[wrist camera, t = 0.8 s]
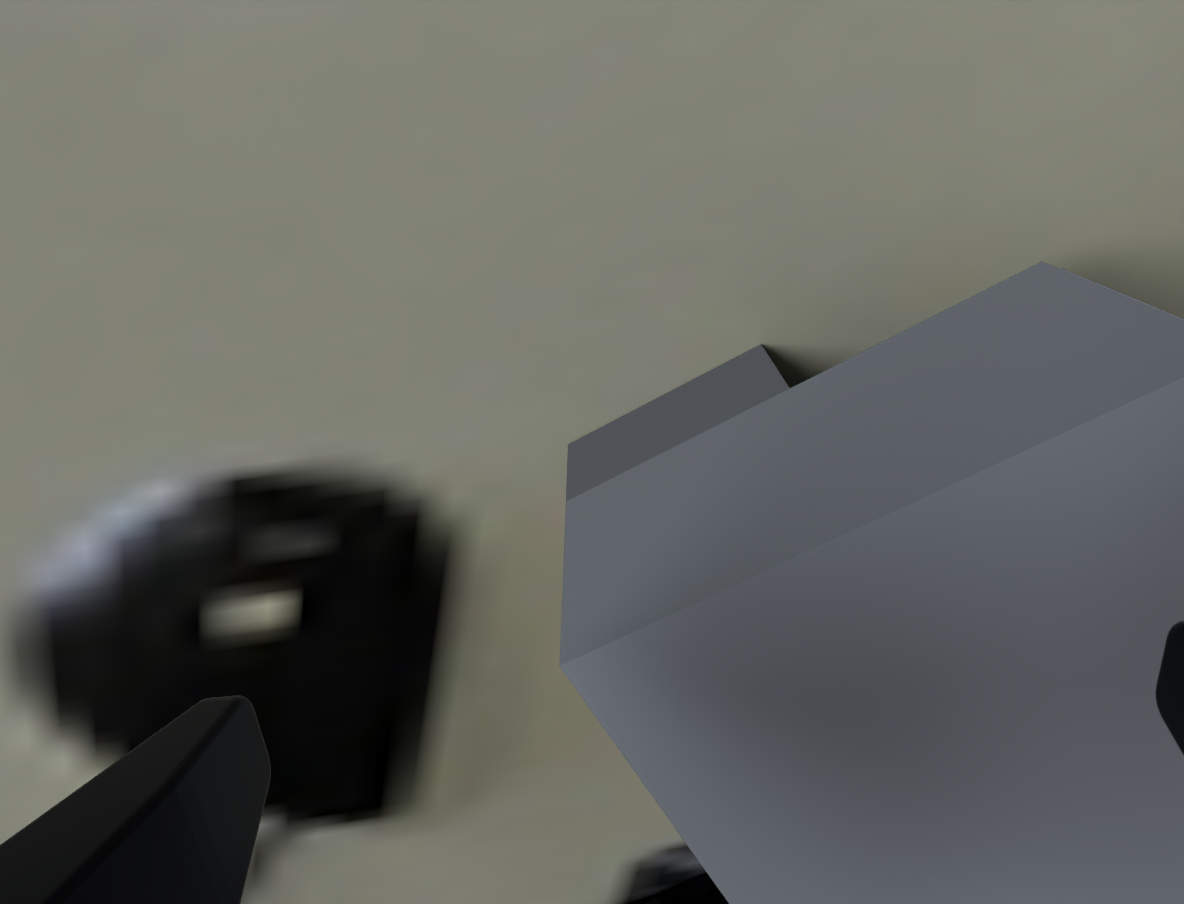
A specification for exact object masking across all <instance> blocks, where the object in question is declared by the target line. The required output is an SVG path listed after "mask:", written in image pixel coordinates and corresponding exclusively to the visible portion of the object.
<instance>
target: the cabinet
mask: <svg viewBox="0 0 1184 904" xmlns="http://www.w3.org/2000/svg"><path fill="white" fill-rule="evenodd" d="M1180 621H1184V319H1183V318H1181V317H1178V316H1176V315H1173V314H1171V313H1168V312H1166V311H1164V310H1161V309H1159V308H1156V307H1154V306H1152V305H1149V304H1147V303H1144V302H1142V301H1139V300H1137V299H1135V298H1132V297H1130V296H1127V295H1125V294H1123V293H1120V292H1118V291H1115V290H1113V289H1110V288H1108V287H1106V286H1103V285H1101V284H1098V283H1096V282H1094V281H1091V280H1089V279H1086V278H1084V277H1081V276H1079V275H1077V274H1074V273H1072V272H1069V271H1067V270H1065V269H1059V268H1056V267H1054V266H1051V265H1049V264H1047V263H1044V262H1040V263H1038V264H1036V265H1034V266H1032V267H1030V268H1028V269H1026V270H1024V271H1022V272H1020V273H1018V274H1016V275H1014V276H1012V277H1010V278H1008V279H1006V280H1004V281H1002V282H1000V283H998V284H996V285H994V286H992V287H990V288H988V289H986V290H984V291H982V292H980V293H978V294H976V295H974V296H972V297H970V298H968V299H966V300H964V301H962V302H960V303H958V304H956V305H954V306H952V307H950V308H948V309H946V310H944V311H942V312H940V313H939V314H937V315H935V316H933V317H931V318H929V319H927V320H925V321H923V322H921V323H919V324H917V325H915V326H913V327H911V328H909V329H907V330H905V331H903V332H901V333H899V334H897V335H895V336H893V337H891V338H889V339H887V340H885V341H883V342H881V343H879V344H877V345H875V346H873V347H871V348H869V349H867V350H865V351H863V352H861V353H859V354H857V355H855V356H853V357H851V358H849V359H847V360H845V361H843V362H841V363H839V364H837V365H836V366H834V367H832V368H830V369H828V370H826V371H824V372H822V373H820V374H818V375H816V376H814V377H812V378H810V379H808V380H806V381H804V382H802V383H800V384H798V385H796V386H794V387H792V388H789V386H788V385H787V383H786V382H785V380H784V379H783V377H782V376H781V374H780V373H779V371H778V369H777V368H776V366H775V365H774V363H773V362H772V360H771V359H770V357H769V356H768V354H767V353H766V351H765V349H764V348H763V346H762V345H759V346H757V347H755V348H753V349H751V350H749V351H747V352H745V353H743V354H742V355H740V356H738V357H736V358H734V359H732V360H730V361H728V362H726V363H724V364H722V365H720V366H718V367H717V368H715V369H713V370H711V371H709V372H707V373H705V374H703V375H701V376H699V377H697V378H695V379H693V380H692V381H690V382H688V383H686V384H684V385H682V386H680V387H678V388H676V389H674V390H672V391H670V392H668V393H666V394H665V395H663V396H661V397H659V398H657V399H655V400H653V401H651V402H649V403H647V404H645V405H643V406H641V407H640V408H638V409H636V410H634V411H632V412H630V413H628V414H626V415H624V416H622V417H620V418H618V419H616V420H614V421H613V422H611V423H609V424H607V425H605V426H603V427H601V428H599V429H597V430H595V431H593V432H591V433H589V434H588V435H586V436H584V437H582V438H580V439H578V440H576V441H574V442H572V443H570V444H568V462H567V488H566V514H565V539H564V565H563V591H562V617H561V643H560V667H561V669H562V670H563V672H564V673H565V674H566V676H567V677H568V679H569V680H570V681H571V683H572V684H573V686H574V687H575V688H576V690H577V691H578V693H579V694H580V695H581V697H582V698H583V700H584V701H585V702H586V704H587V705H588V707H589V708H590V709H591V711H592V712H593V714H594V715H595V716H596V718H597V719H598V721H599V722H600V723H601V725H602V726H603V728H604V729H605V730H606V732H607V733H608V735H609V736H610V737H611V739H612V740H613V742H614V743H615V744H616V746H617V747H618V749H619V750H620V751H621V753H622V754H623V756H624V757H625V759H626V760H627V761H628V763H629V764H630V766H631V767H632V768H633V770H634V771H635V773H636V774H637V775H638V777H639V778H640V780H641V781H642V782H643V784H644V785H645V787H646V788H647V789H648V791H649V792H650V794H651V795H652V796H653V798H654V799H655V801H656V802H657V803H658V805H659V806H660V808H661V809H662V810H663V812H664V813H665V815H666V816H667V817H668V819H669V820H670V822H671V823H672V824H673V826H674V827H675V829H676V830H677V831H678V833H679V834H680V836H681V837H682V838H683V840H684V841H685V843H686V844H687V845H688V847H689V848H690V850H691V851H692V852H693V854H694V855H695V857H696V858H697V859H698V861H699V862H700V864H701V865H702V866H703V868H704V869H705V871H706V872H707V873H708V875H709V876H710V878H711V879H712V880H713V882H714V883H715V885H716V886H717V887H718V889H719V890H720V892H721V893H722V894H723V896H724V897H725V899H726V900H727V901H728V903H729V904H1184V755H1183V754H1182V752H1181V750H1180V748H1179V747H1178V745H1177V743H1176V742H1175V740H1174V738H1173V736H1172V735H1171V733H1170V731H1169V729H1168V728H1167V726H1166V724H1165V722H1164V721H1163V719H1162V717H1161V715H1160V712H1159V710H1158V707H1157V702H1156V684H1157V680H1158V675H1159V671H1160V666H1161V661H1162V657H1163V652H1164V648H1165V643H1166V638H1167V635H1168V632H1169V630H1170V629H1171V627H1172V626H1173V625H1174V624H1176V623H1178V622H1180Z"/></svg>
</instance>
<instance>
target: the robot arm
mask: <svg viewBox="0 0 1184 904" xmlns="http://www.w3.org/2000/svg"><path fill="white" fill-rule="evenodd" d="M1156 702H1157V707H1158V710H1159V712H1160V715H1161V717H1162V719H1163V721H1164V722H1165V724H1166V726H1167V728H1168V729H1169V731H1170V733H1171V735H1172V736H1173V738H1174V740H1175V742H1176V743H1177V745H1178V747H1179V748H1180V750H1181V752H1182V754H1183V755H1184V621H1180V622H1178V623H1176V624H1174V625H1173V626H1172V627H1171V629H1170V630H1169V632H1168V635H1167V638H1166V643H1165V648H1164V652H1163V657H1162V661H1161V666H1160V671H1159V675H1158V680H1157V684H1156ZM269 782H270V760H269V755H268V752H267V749H266V746H265V743H264V739H263V736H262V733H261V730H260V727H259V723H258V720H257V717H256V714H255V711H254V708H253V706H252V704H251V702H250V701H249V699H247V698H246V697H243V696H227V697H214V698H207V699H204V700H202V701H200V702H198V703H197V704H195V705H194V706H193V707H191V708H190V709H189V710H187V711H186V712H184V713H183V714H182V715H180V716H179V717H177V718H176V719H175V720H173V721H172V722H171V723H169V724H168V725H166V726H165V727H164V728H162V729H161V730H159V731H158V732H157V733H155V734H154V735H152V736H151V737H150V738H148V739H147V740H146V741H144V742H143V743H141V744H140V745H139V746H137V747H136V748H134V749H133V750H132V751H130V752H129V753H127V754H126V755H125V756H123V757H122V758H121V759H119V760H118V761H116V762H115V763H114V764H112V765H111V766H109V767H108V768H107V769H105V770H104V771H102V772H101V773H100V774H98V775H97V776H95V777H94V778H93V779H91V780H90V781H89V782H87V783H86V784H84V785H83V786H82V787H80V788H79V789H77V790H76V791H75V792H73V793H72V794H70V795H69V796H68V797H66V798H65V799H64V800H62V801H61V802H59V803H58V804H57V805H55V806H54V807H52V808H51V809H50V810H48V811H47V812H45V813H44V814H43V815H41V816H40V817H39V818H37V819H36V820H34V821H33V822H32V823H30V824H29V825H27V826H26V827H25V828H23V829H22V830H20V831H19V832H18V833H16V834H15V835H14V836H12V837H11V838H9V839H8V840H7V841H5V842H4V843H2V844H1V845H0V904H240V902H241V898H242V894H243V890H244V886H245V882H246V878H247V874H248V869H249V865H250V861H251V857H252V853H253V849H254V845H255V841H256V837H257V832H258V828H259V824H260V820H261V816H262V812H263V808H264V804H265V799H266V795H267V791H268V787H269ZM633 904H729V903H728V901H727V900H726V899H725V897H724V896H723V894H722V893H721V892H720V890H719V889H718V887H717V886H716V885H715V883H714V882H713V880H712V879H711V878H710V876H709V875H705V876H702V877H700V878H697V879H694V880H692V881H689V882H687V883H684V884H682V885H679V886H677V887H674V888H672V889H669V890H666V891H664V892H661V893H659V894H656V895H654V896H651V897H649V898H646V899H644V900H641V901H638V902H636V903H633Z"/></svg>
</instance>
